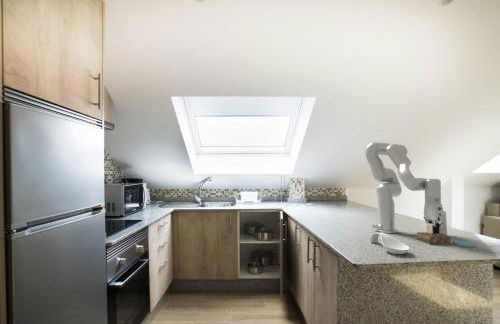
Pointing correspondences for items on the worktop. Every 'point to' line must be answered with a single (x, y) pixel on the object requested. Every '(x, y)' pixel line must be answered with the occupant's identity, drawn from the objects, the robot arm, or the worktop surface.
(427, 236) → the walnut socket block
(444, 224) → the skincare box
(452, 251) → the worktop surface
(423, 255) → the worktop surface
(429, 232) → the maple peg
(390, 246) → the spoon rest
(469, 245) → the teal rubber pad
